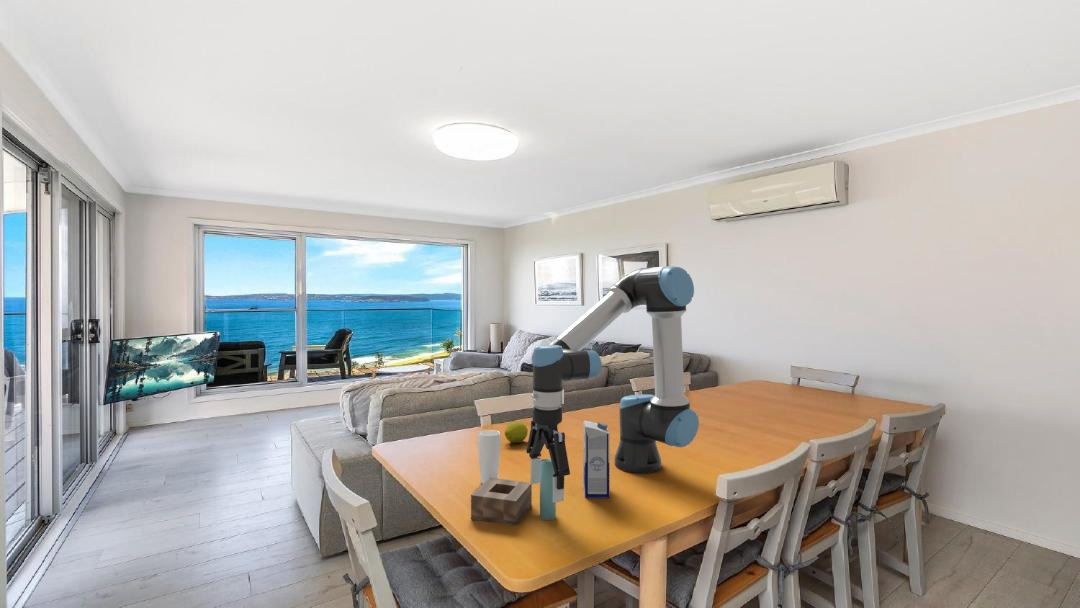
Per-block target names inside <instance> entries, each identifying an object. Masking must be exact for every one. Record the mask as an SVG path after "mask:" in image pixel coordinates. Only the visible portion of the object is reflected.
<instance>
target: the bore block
mask: <svg viewBox="0 0 1080 608" xmlns="http://www.w3.org/2000/svg"><path fill="white" fill-rule="evenodd" d="M532 486H533V484H531V483H530V482H527V481H519V480H512V479H511V480H510V479H504V478H498V479H496V478H489V479H488V480H487V481H486V482H485V483H484V484H481V485H479V487H478V488H477V489H476V490H475V491H474V492H473V493H472V494H471V495H470V519H471V520H477V521H481V522H482V521H483V522H490V523H497V524H502V525H510V526H515V527H516V526H518V524H519V523H520V521H521V520H522V519H523V518H524V516H525V514H526V513H527V512H529V511H528V510H530V509H531V507H532V504H533V503H532V501H533V500H532V498H533V497H532V495H533V494H532V491H533V490H532V489H533V488H532Z"/></svg>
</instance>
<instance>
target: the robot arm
mask: <svg viewBox="0 0 1080 608" xmlns="http://www.w3.org/2000/svg"><path fill="white" fill-rule="evenodd" d="M694 295H695V287H694V282H693V278H692V277H691V275H690V274H689V273H688V272H687V270H685V268H683V267H680V266H670V265H667V266H657V267H644V268H642V267H641V268H638V269H634V270H633V271H631V272H629V273H627V274H626V275H625V276H623V277H621V278H620V279H619V280H618V281H616V282H615V283H614V284H613V285H611V286H610V287H609V288H608V289H607V290H606V295H604V297H602V298H601V299H600V300H599V301H598V302H597V303H596V304H594V305H593V306H592V307H591V308H589V310H588V311H586V312H585V313H584V314H583V315H582V316H580V318H579V317H578V319H577V320H576V321H574V322H573V323H572V324H571V325H570V326H569V327H568V328H567V329H565V330H564V331H563V332H561V334H559V336H557V337H556V338H555V339H554V340H553V341H551V342H550V343H549V344H539V345H536V346H535V347H534V349H533V352H532V354H531V363H532V395H531V398H532V405H533V407H532V415H531V416H532V419H531V421H530V430H529V431H530V432H529V434H528V435H529V436H528V440H527V444H526V454H529V458H530V482H529V483H531V484H532V485H534V484H535V485H536V484H540V460H542V458H541V457H543V456H542V453H541V452H542V450H543V447H545V448H546V449H547V450H548V454H549V457H550V459H551V461H552V465H553V469H554V472H555V474H553V502H554V503H555V502H556V503H559V502H564V501H565V477H566V476H569V475H570V474H571V471H570V465H569V459H568V453H567V448H566V446H567V445H566V434H565V432H559V430H558V429H559V428H558V426H559V424H561V423H562V422H563V407H562V406H563V383H564V382H570V381H579V380H589V379H593V378H596V377H598V376H599V374H600V373H601V371H602V359H601V357H600V355H599V353H598V352H597V351H595V350H592V349H590V350H588V349H585V348H586V346H588V345H589V344H590V343H591V342H593V340H594V339H596V338H597V337H598V336H599V335H600V334H601V333H602V332H603V331H604V330H606V329H607V328H608V327H609V326H610V325H611V324H612V323H613V322H614V321H616V319H618V318H619V317H620V316H621V315H622V314H626V313H629V312H631V310H632V309H634V308H637V307H639V306H646V307H645V308H646V309H645V310H646V313H647V314H648V315H649V316H650V318H651V323H652V324H651V325H652V328H651V329H652V350H653V352H652V353H653V354H652V355H653V374H654V376H653V377H654V394H648V393H647V394H643V393H642V394H631V395H625V396H623V397H622V398H621V399H620V402H619V403H620V404H619V443H618V445H617V449H616V452H615V454H614V466H616V468H618V469H619V470H622V471H625V472H628V473H629V472H630V473H635V474H651V473H655V472H657V471H659V470H661V469H662V458H661V456H660V451H659V449H658V446H657V442H659V443H661V444H665V445H667V446H669V447H675V448H685V447H687V446H689V445H690V444H691V443H692V442H693V441H694V440H695V438H696V436H697V434H698V431H699V426H700V420H699V415H698V414H697V412H695V410H693V409H691V406H690V405H691V404H690V399H689V398H688V397H687V396H686V395H685V384H684V383H685V381H684V380H685V379H684V358H683V355H684V354H683V334H682V333H683V332H682V330H683V329H682V317H683V315H684V313H686V312H687V305H689V304H690V303H691V302H692V300H693V298H694Z"/></svg>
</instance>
